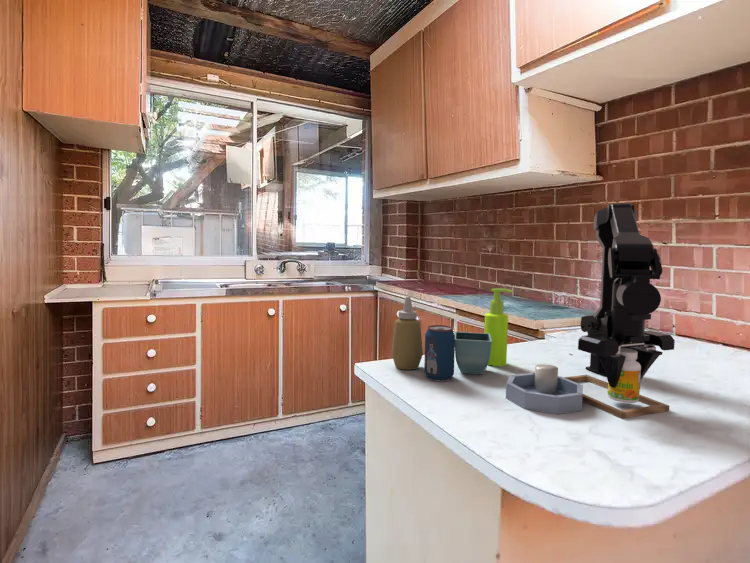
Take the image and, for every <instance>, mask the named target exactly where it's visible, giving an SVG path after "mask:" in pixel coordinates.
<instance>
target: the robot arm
mask: <svg viewBox="0 0 750 563" xmlns="http://www.w3.org/2000/svg"><path fill="white" fill-rule="evenodd" d="M637 213H638V211H637V210H636V209H635V205H634V204H633V203H631V202H629V203H628V202H624V203H623V202H622V203H621V202H619V203H617V202H616V203H611V204H608V205H607V206H606V207H605V208H602V209H600V210H598V211H596V213H595V214H594V219H593V231H595V236H596V237H595V238H596V240H597V241H598V244H600V246H601V247H602V252H601V253H602V257H601V258H602V259H601V275H600V276H601V278H600V280H601V283H600V285H601V286H600V300H599V301H600V304H599V305H600V306H599V308H598V309H597V310H596V312H595V313H594V314H593V315H584V316H581V318H580V324H579V325H580V330H581V331H582V333H587V334H586V335H582V336H580V337H579V338H578V340H577V341H578V342H577V350H579V351H580V352H581V351H582V352H586V353H589V354H590V357H589V358H590V362H589V366H585V369H586V370H588V371H590V372H593V373H597V374H599V375H602V376H605V377H606V381H607V383H609V386H610V387H613V388H615V387H616V385H617V383H618V380H619V377H620V374H621V371H622V368H623V365H624V361H625V358H626V356H623V355H620V348H628V349H633V350H636V351H637V359H636V361H637V362H638V363H639V364H640V365H641V375H640V382H641V381H642V379H643V378H644V376H645V375H646V373H647V372H648V371H649V369H650V368H651V367H652V365H653V364H654V363H655V362H656V361H657V359H658V358H659V357H660V356H662V355H663V351H672V350H673V351H674V350H675V345H676V344H675V343H676V342H675V339H674V338H673V337H672V335H671V334H668V333H663V332H660V331H659V332H658V331H655V330H645V328H646V321H647V320H652V313H653V312H655V311H656V310H657V309H658V308H659V307H660V305H661V301H662V296H661V294H660V291H659V289H658V288H657V287H656V286H655V285H653V284H652V283H651V280H660V279H661V276H662V274H663V267H662V266H663V265H662V261H661V257H660V254H659V253H658V250H657V248H656V247H654V244H653V243H652V240H651V239H650V237H647V236H645V235H643V234H640V230H639V227H638V224H637V218H638V216H637V215H638V214H637ZM657 347H659V348H660V349H661V350H660V351H659V350H657Z"/></svg>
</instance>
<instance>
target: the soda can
mask: <svg viewBox="0 0 750 563" xmlns="http://www.w3.org/2000/svg"><path fill="white" fill-rule="evenodd" d="M423 363H424V367H423V369H424V372H423V373H424V374H425V376H426V378H427V379H428V380H430V381H434V382H448V381H450V380H451V379H452V378H453V376H454V374H455V331H453V327H452V326H450V325H445V324H443V325H442V324H439V325H438V324H434V325H428V326H427V330H426V331H425V334H424V362H423Z"/></svg>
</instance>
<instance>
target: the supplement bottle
mask: <svg viewBox="0 0 750 563" xmlns="http://www.w3.org/2000/svg"><path fill="white" fill-rule="evenodd" d="M620 355H623V356H626V358H625V361H624V365H623V368H622V371H621V374H620V377H619V380H618V383H617V385H616V387H615V388H613V387H610V386H609V383H608V382H607V383H608V389H607V396H608V398H609V399H611V400H613V401H616V402H620V403H627V404H634V403H638V402H640V401H639V394H640V390H641V381H640V375H641V365H640V364H639V363H638V362H637V361H636V359H637V351H636V350H633V349H628V348H620Z"/></svg>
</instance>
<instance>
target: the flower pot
mask: <svg viewBox="0 0 750 563" xmlns="http://www.w3.org/2000/svg"><path fill="white" fill-rule="evenodd" d="M454 334H455V354H454V358H455V361H456V365H457V367H458V370H459V372H460V373H461V374H472V375H483V373H485V371H486V369H487V368H488V366H489V365H488V362H489V359H490V352H491V345H492V339H491V336H490V334H487V333H484V332H483V333H481V332H468V331H467V332H466V331H454Z"/></svg>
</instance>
